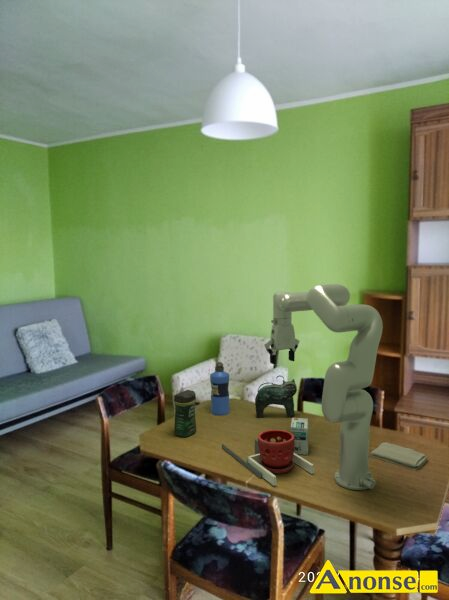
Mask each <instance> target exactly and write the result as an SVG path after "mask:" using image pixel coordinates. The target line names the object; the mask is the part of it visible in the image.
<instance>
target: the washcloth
mask: <svg viewBox="0 0 449 600" xmlns="http://www.w3.org/2000/svg"><path fill="white" fill-rule="evenodd" d="M369 456H370V457H371V458H375V459H378V460H381V461H384V462H387V463H390V464H394V465H397V466H400V467H403V468H406V469H410V470H413V471H417V470H419V469H420V468H422V467H423V465H424V464H426V462H427V461H428V456H426V455H425V453H421V452H419V451H416V450H414V449H413V448H407V447H404V446H402V445H398V444H393V443H390V442H382V443H380V444H379V445H378V447H377V448H375V449H373V450H372V451H371V452H369Z"/></svg>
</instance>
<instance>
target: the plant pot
mask: <svg viewBox="0 0 449 600" xmlns="http://www.w3.org/2000/svg"><path fill="white" fill-rule="evenodd" d="M278 438H280V439H278ZM257 439H258V447H259V453H260V456H261V458H262V461H261V462H260V465H261V466H263V467H264V468H265V469H267V470H268V471H270V472H271V473H272V474H283V473H287V472H289V471H291V470H292V468H293V467H294V462H293V461H292V458H293V454H294V445H295V440H294V435H293V434H292V433H291V431H288V430H282V429H269V430H268V429H267V430H264V431H261V432H260V433H259V434H258V436H257ZM265 439H267V441H265ZM271 439H274V440H275V442H273V441H272V440H271ZM284 440H285V441H284ZM270 441H272V442H270Z"/></svg>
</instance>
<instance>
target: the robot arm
mask: <svg viewBox="0 0 449 600" xmlns="http://www.w3.org/2000/svg"><path fill="white" fill-rule="evenodd" d="M350 299H351V293H350V290H349V289H348V288H347V287H346V286H344V285H342V284H338V283H333V284H319V285H318V284H317V285H314V286H312V287H311V288H310V289H309V290H308V291H304V292H303V291H299V292H289V291H276V292H274V293H273V296H272V301H273V302H272V303H273V304H272V305H273V306H272V312H273V314H272V316H273V318H272V320H271V324H272V325H271V331H270V338H269V341H267V342H266V343H265V344H264V347H265V351H266V352H267V353H268V354H269V363H270V364H272V365H276V364H277V355H276V352H278V351H283V350H288V361H291V362H295V359H296V358H295V354H296V353H295V352H296V351H297V348H298V347H299V344H300V340H299V339H297V338H296V334H295V333H296V332H295V328H294V324H293V323H292V317H293V315H292V313H294V312H304V311H305V312H307V311H313V312H314V314H315V315H316V316H317V317H318V318H319V320H320V322H322V323H323V324H324V325H325V327H326V328H327V329H328V330H329V331H332V332H333V333H339V334H340V333H346V332H355V331H357V333H356V335H355V336H354V338H353V339H352V340H351V342H350V345H349V349H348V350H349V352H348V356H347V359H346V360H342V361H338V362H334V363H332V364H330V365H329V367H328V368H327V369H326V372H325V375H324V380H323V381H324V382H323V389H322V396H321V412H322V415H323V418H325V421H328V422H329V423H331V424H340V427H339V453H338V454H339V455H338V456H339V457H338V458H339V461H338V464H339V467H338V468H339V469H338V471H336V472H335V473H334V477H333V478H334V481H335V483H336V484H338V485H339V486H340V487H342V488H345V489H346V490H347V489H348V490H354V491H364V490H368V489H370V490H373V489H374V488H375V485H376V484H377V480H376V479H374V478H373V477H372V471H370V470H369V468H370V467H369V464H370V463H369V462H370V461H369V460H370V459H369V457H370V431H371V430H370V427H371V426H370V425H371V421H372V415H373V413H374V412H373V411H374V401H373V398H372V396H371V394H370V393H369V392H367V391H366V390H365V389H366V388H368V387H370V386H371V384H372V382H373V378H374V374H375V369H376V368H375V366H376V362H377V354H378V348H379V345H380V341H381V338H382V334H383V328H384V326H383V320H382V317H381V315H380V312H379V311H378V309H376V308H374V307H373V306H371V305H368V304H364V303H363V304H348V303H349V302H350ZM347 304H348V305H347Z"/></svg>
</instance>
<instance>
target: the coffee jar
mask: <svg viewBox="0 0 449 600" xmlns="http://www.w3.org/2000/svg"><path fill="white" fill-rule="evenodd" d="M196 397H197V396H196V391H194V390H190V389H186V390H183V391H181V392H178V393H175V394H174V397H173V404H174V410H175V411H174V414H175V415H174V427H173V428H174V432H173V433H174V435H176V436H178V437H180V438H181V437H183V438H184V437H185V438H187V437H189V436H191V435H194V433H196V432H197V422H196V420H197V419H196V400H197V398H196Z"/></svg>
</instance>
